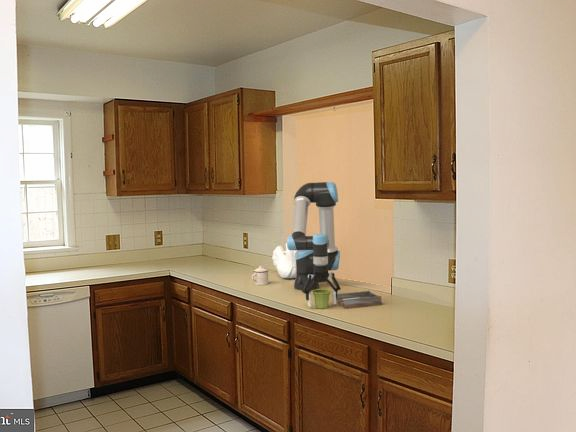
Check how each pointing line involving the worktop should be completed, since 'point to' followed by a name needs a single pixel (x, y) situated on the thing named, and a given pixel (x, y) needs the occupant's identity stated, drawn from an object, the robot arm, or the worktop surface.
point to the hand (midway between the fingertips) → (321, 305)
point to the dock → (358, 299)
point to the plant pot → (321, 298)
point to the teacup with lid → (260, 276)
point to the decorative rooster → (285, 262)
